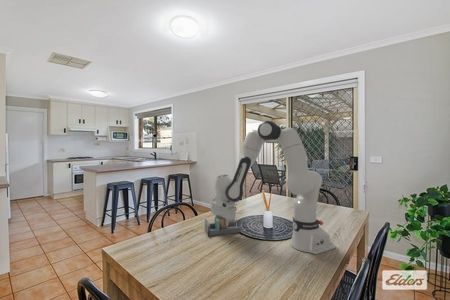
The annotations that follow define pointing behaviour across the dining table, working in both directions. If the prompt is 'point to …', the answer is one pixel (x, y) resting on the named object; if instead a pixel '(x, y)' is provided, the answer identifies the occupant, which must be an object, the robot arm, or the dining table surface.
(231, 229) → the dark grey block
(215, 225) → the pusher
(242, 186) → the robot arm
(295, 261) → the dining table surface
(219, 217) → the jar
